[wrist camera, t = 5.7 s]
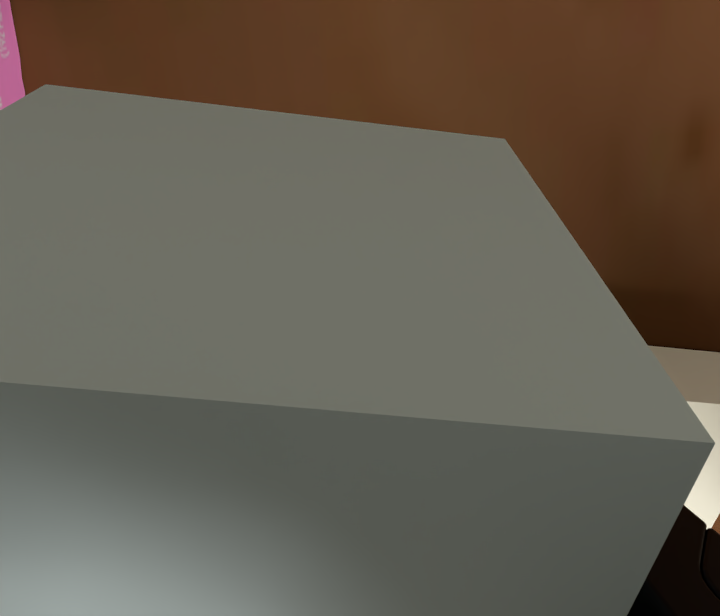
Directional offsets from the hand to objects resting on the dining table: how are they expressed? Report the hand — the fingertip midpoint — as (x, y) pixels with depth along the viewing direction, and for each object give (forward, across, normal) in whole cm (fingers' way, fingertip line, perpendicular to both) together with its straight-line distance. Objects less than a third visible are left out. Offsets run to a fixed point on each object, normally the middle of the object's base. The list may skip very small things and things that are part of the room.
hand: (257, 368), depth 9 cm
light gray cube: (+2, 0, 0) cm, 2 cm away
